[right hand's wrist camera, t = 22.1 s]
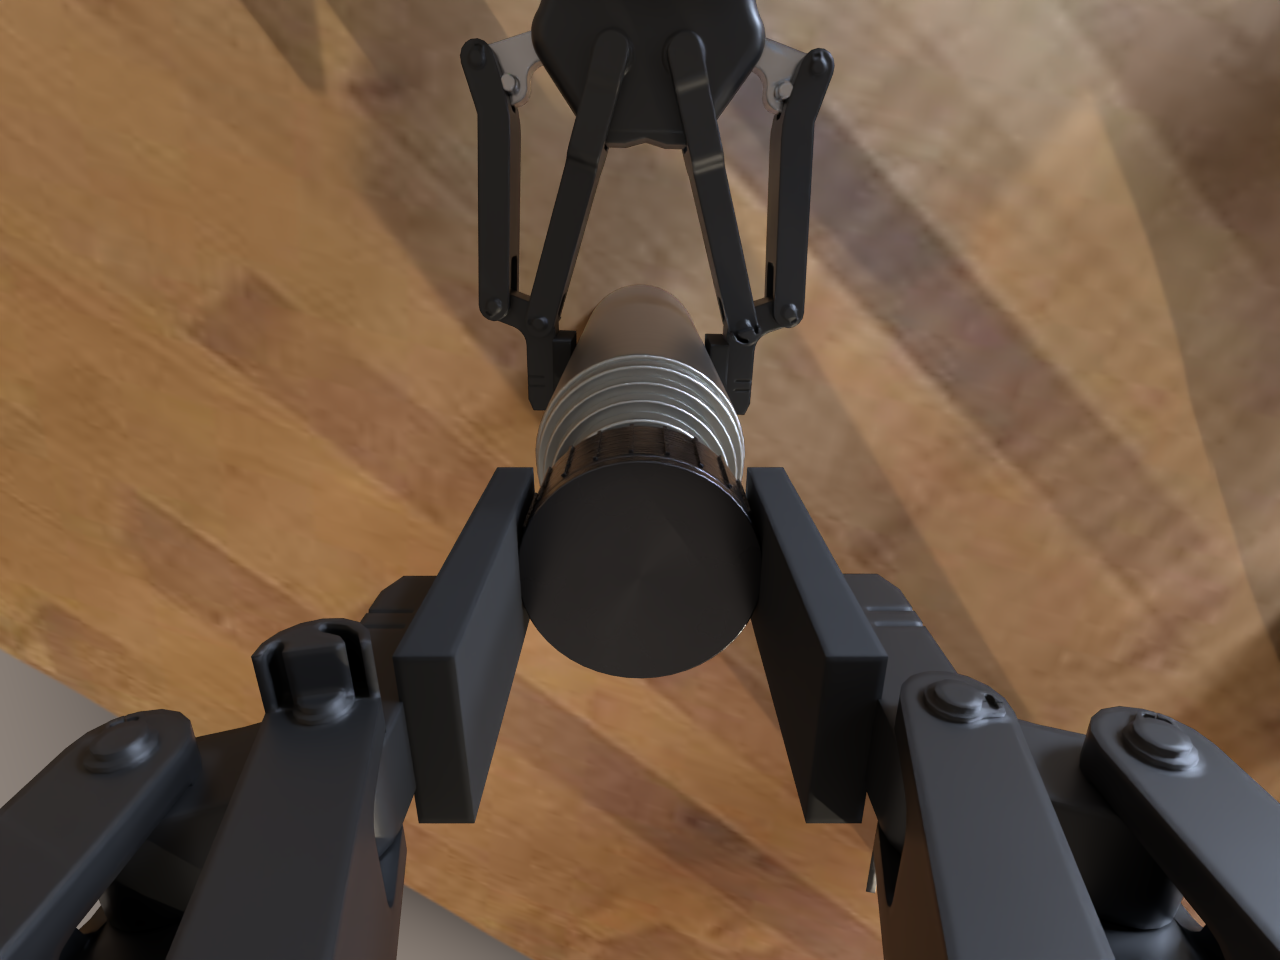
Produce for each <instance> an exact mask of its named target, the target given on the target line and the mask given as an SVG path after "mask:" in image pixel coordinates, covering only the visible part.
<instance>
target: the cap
mask: <svg viewBox="0 0 1280 960" xmlns="http://www.w3.org/2000/svg"><path fill="white" fill-rule="evenodd" d="M751 514H752V511H751V508H750V505H749V503H748V500H747V497H746V495H745V492H744V489H743V487H742V484H741V481H740V479H737V480H736V478H735V476H734V475H733V473H732V472H731V470H730V469H729V468H728V466H727V465H726V464H725V462H724V459H723V457H722V456H721V455H719V456H718V455H716V454H715V453H714V452H713V451H712V450H710V449H709V448H708V447H707V446H705V445H704V444H702V443H700V442H699V441H698V438H697V437H695V436H694V437H693V438H691V437H689V436H687V435H685V434H683V433H680V432H676V431H673V430H670V429H667V426H663V428H660V427H654V426H634V424H630V426H627V427H620V428H615V429H610V430H607V431H604V432H602V431H601V430H600V431H597V434H595V435H593V436H591V437H589V438H587V439H585V440H583V441H581V442H580V443H578V444H577V445H575V446H573V445H571V446H570V447H569V449H568V451H567V452H566V453H565V454H564V455H563V456H562V457H561V458H560V459H559V460H558V461H557V462H556V463H555V465H554V466H553V467H552V468H551V467H550V466H549V468H548V469H547V472H546V474H545V477H544V480H543V483H542V485H541V487H540V489H539V491H538V493H535V494H534V497H533V499H532V502H531V505H530V507H529V510H528V513H527V515H526V518H525V521H524V523H523V526H522V529H524V533H523V536H522V539H521V542H520V546H519V550H518V558H519V572H520V586H521V598H522V602H523V605H524V607H525V609H526V611H527V614H528V616H529V618H530V619H531V621H532V622H533V624H534V625H535V627H536V628H537V630H538V631H539V632H540V633H541V635H542V636H543V637H544V638H545V639H546V640H547V641H548V642H549V643H550V644H551V645H552V646H553V647H554V648H556V649H557V650H558V651H559V652H561V653H562V654H563V655H565V656H566V657H568V658H569V659H571V660H573V661H575V662H577V663H578V664H580V665H582V666H584V667H587V668H590V669H592V670H595V671H597V672H601V673H605V674H608V675H613V676H619V677H626V678H654V677H661V676H667V675H672V674H676V673H679V672H683V671H686V670H689V669H691V668H693V667H696V666H698V665H700V664H702V663H704V662H706V661H708V660H709V659H711V658H713V657H714V656H716V655H717V654H718V653H720V652H721V651H723V650H724V649H725V648H726V647H727V646H728V645H729V644H730V643H732V642H733V641H734V640H735V639H736V637H737V636H738V635H739V634H740V633H741V631H742V630H743V629H744V628H745V626H746V625H747V623H748V621H749V620H750V618H751V617H752V615H753V612H754V610H755V608H756V606H757V604H758V601H759V591H760V578H761V565H762V548H761V544H760V541H759V538H758V535H757V532H756V529H755V526H754V524H753V521H752V518H751Z"/></svg>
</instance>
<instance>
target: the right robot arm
mask: <svg viewBox="0 0 1280 960" xmlns="http://www.w3.org/2000/svg"><path fill="white" fill-rule="evenodd" d="M534 494H535V490H534V474H533V467H497V469H496V471H495V472H494V474H493V476H492V478H491V480H490V481H489V483H488V485H487V487H486V489H485V490H484V492H483V494H482V496H481V498H480V499H479V501H478V503H477V505H476V507H475V508H474V510H473V512H472V514H471V516H470V517H469V519H468V521H467V523H466V525H465V526H464V528H463V530H462V532H461V534H460V535H459V537H458V539H457V541H456V543H455V544H454V546H453V548H452V550H451V552H450V553H449V555H448V557H447V559H446V561H445V562H444V564H443V566H442V568H441V570H440V571H439V573H438V575H437V576H403V577H401V578H400V579H398V580H397V581H396V582H394V583H393V584H391V585H390V586H388V587H387V588H385V589H384V590H383V591H381V592H380V594H379V595H378V597H377V598H376V600H375V601H374V603H373V604H372V606H371V607H370V609H369V613H366V614H365V616H364V617H363V619H362V620H361V622H356V621H352V620H348V619H344V618H329V619H319V620H314V621H309V622H304V623H300V624H298V625H295V626H293V627H290V628H288V629H285V630H283V631H280V632H278V633H277V634H275V635H274V636H272V637H271V638H269V639H268V640H266V641H265V642H263V643H262V644H261V645H260V646H259V648H258V649H257V650H256V651H255V652H254V654H253V655H252V656H251V658H252V662H253V666H254V670H255V674H256V678H257V682H258V686H259V690H260V693H261V697H262V701H263V705H264V709H265V716H264V718H263V721H262V722H260V723H257V724H253V725H250V726H246V727H242V728H237V729H233V730H228V731H223V732H219V733H214V734H209V735H205V736H200V737H195V735H194V732H193V729H192V725H191V722H190V720H189V719H188V718H187V717H185V716H184V715H183V714H182V713H180V712H177V711H171V710H165V709H158V710H149V711H141V712H136V713H133V714H128V715H127V716H122V717H119V718H116V719H113V720H111V721H109V722H107V723H105V724H103V725H101V726H99V727H97V728H95V729H93V730H91V731H89V732H87V733H86V734H84V735H83V736H82V737H80V738H79V739H78V740H76V741H75V742H74V743H72V744H71V745H70V746H68V747H67V748H66V749H64V750H63V751H62V752H61V753H60V754H59V755H58V756H57V757H56V758H55V759H54V760H53V761H51V762H50V763H49V764H48V765H47V766H46V767H45V768H44V769H43V770H42V771H41V772H40V773H38V774H37V775H36V776H35V777H34V778H33V779H32V780H31V781H30V782H29V783H28V784H27V785H25V786H24V787H23V788H22V789H21V790H20V791H19V792H18V793H17V794H16V795H15V796H14V797H12V798H11V799H10V800H9V801H8V802H7V803H6V804H5V805H4V806H3V807H2V808H1V809H0V960H396V956H397V946H398V936H399V926H400V916H401V905H402V895H403V885H404V875H405V865H406V854H407V848H406V841H405V835H404V829H403V821H404V819H405V816H406V813H407V811H408V808H409V806H410V803H411V800H412V798H413V795H414V796H415V802H416V808H417V814H418V821H419V823H475V819H476V816H477V812H478V808H479V804H480V801H481V797H482V793H483V790H484V786H485V782H486V779H487V775H488V771H489V767H490V764H491V760H492V756H493V753H494V749H495V745H496V742H497V738H498V734H499V730H500V727H501V723H502V719H503V716H504V712H505V708H506V705H507V701H508V697H509V693H510V690H511V686H512V682H513V679H514V675H515V671H516V668H517V664H518V660H519V656H520V653H521V649H522V645H523V642H524V638H525V634H526V631H527V627H528V623H529V619H530V618H529V616H528V614H527V611H526V609H525V607H524V605H523V602H522V598H521V586H520V572H519V558H518V550H519V546H520V542H521V539H522V536H523V533H524V529H522V526H523V523H524V521H525V518H526V515H527V513H528V510H529V507H530V505H531V502H532V499H533V497H534ZM746 497H747V500H748V503H749V505H750V508H751V511H752V514H751V518H752V521H753V524H754V526H755V529H756V532H757V535H758V538H759V541H760V544H761V548H762V565H761V578H760V591H759V601H758V604H757V606H756V608H755V610H754V612H753V615H752V617H751V622H752V625H753V629H754V633H755V636H756V640H757V644H758V648H759V651H760V655H761V659H762V662H763V666H764V670H765V673H766V677H767V681H768V684H769V688H770V692H771V696H772V699H773V703H774V707H775V710H776V714H777V718H778V721H779V725H780V729H781V733H782V736H783V740H784V744H785V747H786V751H787V755H788V758H789V762H790V766H791V770H792V773H793V777H794V781H795V784H796V788H797V792H798V795H799V799H800V803H801V807H802V810H803V814H804V818H805V821H806V823H862V817H863V811H864V805H865V799H866V792H867V793H868V796H869V799H870V801H871V804H872V806H873V809H874V811H875V814H876V817H877V819H878V823H877V829H876V835H875V841H874V846H873V852H872V858H871V864H870V869H869V875H868V882H867V888H866V892H871V893H875V889H876V884H877V893H878V904H879V914H880V924H881V934H882V944H883V955H884V960H1280V803H1278V802H1277V801H1276V800H1275V799H1274V798H1273V797H1272V796H1271V795H1270V794H1269V793H1268V792H1266V791H1265V790H1264V789H1263V788H1262V787H1261V786H1260V785H1259V784H1258V783H1257V782H1256V781H1254V780H1253V779H1252V778H1251V777H1250V776H1249V775H1248V774H1247V773H1246V772H1245V771H1244V770H1242V769H1241V768H1240V767H1239V766H1238V765H1237V764H1236V763H1235V762H1234V761H1233V760H1232V759H1230V758H1229V757H1228V756H1227V755H1226V754H1225V753H1224V752H1223V751H1222V750H1221V749H1219V748H1218V747H1217V746H1216V745H1215V744H1214V743H1212V742H1211V741H1209V740H1208V739H1207V738H1205V737H1204V736H1203V735H1201V734H1200V733H1199V732H1197V731H1196V730H1194V729H1192V728H1190V727H1188V726H1186V725H1184V724H1182V723H1180V722H1178V721H1176V720H1174V719H1173V718H1171V717H1168V716H1165V715H1162V714H1160V713H1155V712H1153V711H1148V710H1145V709H1139V708H1130V707H1122V706H1118V707H1112V708H1106V709H1101V710H1100V711H1099V712H1097V713H1096V714H1095V715H1094V716H1093V717H1091V720H1090V724H1089V727H1088V730H1087V734H1086V735H1084V734H1080V733H1075V732H1070V731H1066V730H1061V729H1056V728H1052V727H1047V726H1042V725H1038V724H1034V723H1030V722H1027V721H1023V720H1020V719H1017V717H1016V714H1015V712H1014V711H1013V709H1012V708H1011V706H1010V705H1009V704H1008V702H1007V701H1006V699H1005V698H1004V697H1002V696H1001V695H1000V694H998V693H997V692H996V691H995V690H993V689H992V688H991V687H989V686H988V685H986V684H983V683H981V682H979V681H977V680H975V679H972V678H970V677H968V676H964V675H960V674H957V672H956V671H955V669H954V668H953V666H952V665H951V663H950V662H949V660H948V659H947V658H946V656H945V655H944V653H943V652H942V650H941V649H940V647H939V646H938V644H937V643H936V642H935V640H934V639H933V637H932V636H931V634H930V633H929V631H928V630H927V628H926V627H925V626H923V625H922V621H921V620H920V618H919V617H918V615H917V614H916V612H915V611H912V607H911V605H910V604H909V602H908V601H907V599H906V598H905V596H904V595H903V593H902V592H901V590H900V589H898V588H897V587H896V586H894V585H893V584H891V583H890V582H888V581H887V580H885V579H884V578H882V577H881V576H880V575H878V574H842V572H841V571H840V569H839V567H838V565H837V563H836V562H835V560H834V558H833V556H832V554H831V553H830V551H829V549H828V547H827V545H826V544H825V542H824V540H823V538H822V536H821V535H820V533H819V531H818V529H817V527H816V526H815V524H814V522H813V520H812V518H811V517H810V515H809V513H808V511H807V509H806V508H805V506H804V504H803V502H802V500H801V499H800V497H799V495H798V493H797V491H796V490H795V488H794V486H793V484H792V483H791V481H790V479H789V477H788V475H787V474H786V472H785V470H784V468H783V467H747V481H746ZM1183 896H1184V898H1185V899H1186V900H1187V901H1188V903H1189V904H1190V905H1191V906H1192V908H1193V909H1194V910H1195V911H1196V913H1197V914H1198V915H1199V916H1200V917H1201V919H1202V920H1203V921H1204V922H1205V924H1206V925H1205V926H1204V927H1201V926H1200V925H1199V924H1198V923H1197V922H1196V921H1195V920H1194V919H1193V918H1192V917H1191V916H1190V914H1189V913H1188V912H1187V910H1186V909H1185V908H1184V907H1183V905H1182V904H1181V900H1182V898H1183ZM98 899H99V901H100V904H101V906H100V907H99V909H98V910H97V911H96V913H95V914H94V915H93V916H92V918H91V919H90V920H89V921H88V922H87V923H86V924H84V925H83V926H82V927H81V928H80V929H79V930H78V929H77V928H76V927H77V926H78V924H79V923H80V922H81V921H82V919H83V918H84V917H85V916H86V914H87V913H88V912H89V911H90V909H91V908H92V907H93V906H94V904H95V903H96V902H97V901H98Z"/></svg>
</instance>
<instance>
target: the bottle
mask: <svg viewBox="0 0 1280 960" xmlns="http://www.w3.org/2000/svg"><path fill="white" fill-rule="evenodd" d="M630 424H634V426H654V427H660V428H663V426H667V429H670V430H673V431H676V432H680V433H683V434H685V435H687V436H689V437H691V438H693V437H694V436H695V437H697V438H698V441H699V442H700V443H702V444H704V445H705V446H707V447H708V448H709V449H710V450H712V451H713V452H714V453H715V454H716V455H718V456H719V455H721V456H722V457H723V459H724V462H725V464H726V465H727V466H728V468H729V469H730V470H731V472H732V473H733V475H734V476H735V478H736V480H737V479H740V481H742V476H743V468H744V458H745V447H744V437H743V432H742V428H741V424H740V422H739V419H738V416H737V414H736V412H735V409H734V407H733V405H732V403H731V401H730V399H729V397H728V395H727V393H726V391H725V388H724V386H723V384H722V382H721V380H720V378H719V376H718V374H717V372H716V369H715V367H714V365H713V363H712V361H711V359H710V357H709V355H708V353H707V351H706V348H705V346H704V344H703V342H702V340H701V338H700V336H699V334H698V332H697V329H696V327H695V325H694V323H693V321H692V319H691V317H690V315H689V313H688V311H687V310H686V308H685V307H684V306H683V304H682V303H681V302H680V301H679V300H678V299H677V298H676V297H674V296H673V295H672V294H670V293H668V292H667V291H665V290H663V289H660V288H658V287H654V286H650V285H631V286H626V287H623V288H620V289H618V290H615V291H614V292H612V293H610V294H609V295H607V296H606V297H605V298H604V299H603V300H602V301H601V302H600V303H599V304H598V305H597V306H596V308H595V309H594V310H593V312H592V314H591V316H590V318H589V320H588V322H587V324H586V326H585V328H584V330H583V333H582V335H581V337H580V339H579V341H578V343H577V345H576V347H575V349H574V352H573V354H572V356H571V358H570V360H569V362H568V364H567V366H566V368H565V370H564V373H563V375H562V377H561V379H560V381H559V383H558V385H557V387H556V389H555V391H554V394H553V396H552V398H551V400H550V402H549V404H548V406H547V408H546V410H545V412H544V415H543V418H542V420H541V423H540V426H539V430H538V434H537V440H536V465H537V473H538V478H539V483H540V487H541V485H542V483H543V480H544V477H545V474H546V472H547V469H548V468H549V466H550V467H551V468H552V467H553V466H554V465H555V463H556V462H557V461H558V460H559V459H560V458H561V457H562V456H563V455H564V454H565V453H566V452H567V451H568V449H569V447H570V446H571V445H573V446H575V445H577V444H578V443H580V442H581V441H583V440H585V439H587V438H589V437H591V436H593V435H595V434H597V431H600V430H601V431H602V432H604V431H607V430H610V429H615V428H620V427H627V426H630Z"/></svg>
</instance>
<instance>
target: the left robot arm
mask: <svg viewBox="0 0 1280 960" xmlns="http://www.w3.org/2000/svg"><path fill="white" fill-rule="evenodd" d="M460 58H461V64H462V67H463V70H464V73H465V76H466V79H467V83H468V86H469V89H470V92H471V95H472V98H473V101H474V104H475V107H476V111H477V114H478V256H479V308H480V311H481V313H482V315H483V316H484V317H485V318H487V319H488V320H492V321H500V322H503V323H505V324H508V325H511V326H513V327H515V328H517V329H518V330H520V331H521V332H522V334H523V335H524V337H525V339H526V344H527V367H528V394H529V401H530V403H531V405H532V407H533V410H546V408H547V406H548V404H549V402H550V400H551V398H552V396H553V394H554V391H555V389H556V387H557V385H558V383H559V381H560V379H561V377H562V375H563V373H564V370H565V368H566V366H567V364H568V362H569V360H570V358H571V356H572V354H573V352H574V349H575V347H576V345H577V341H576V331H569V330H559V321H560V319H561V317H560V316H561V312H562V309H563V305H564V302H565V298H566V295H567V291H568V288H569V284H570V280H571V277H572V273H573V270H574V266H575V263H576V259H577V256H578V252H579V249H580V245H581V242H582V238H583V234H584V231H585V227H586V224H587V220H588V217H589V213H590V210H591V206H592V203H593V199H594V196H595V192H596V188H597V185H598V181H599V178H600V175H601V172H602V169H603V166H604V163H605V160H606V156H607V153H608V149H609V147H614V148H627V147H631V146H634V145H638V144H642V143H649V144H652V145H655V146H658V147H661V148H664V149H682V153H683V157H684V161H685V165H686V169H687V172H688V175H689V179H690V183H691V187H692V192H693V196H694V200H695V205H696V209H697V213H698V218H699V222H700V226H701V231H702V235H703V239H704V244H705V248H706V252H707V257H708V261H709V265H710V270H711V274H712V278H713V283H714V287H715V291H716V296H717V300H718V304H719V309H720V313H721V317H722V322H723V325H724V326H723V335H722V334H705V348H706V351H707V353H708V355H709V357H710V359H711V361H712V363H713V365H714V367H715V369H716V372H717V374H718V376H719V378H720V380H721V382H722V384H723V386H724V388H725V391H726V393H727V395H728V397H729V399H730V401H731V403H732V405H733V407H734V409H735V412H736V414H737V415H744V414H745V412H746V411H747V409H748V407H749V405H750V397H751V385H752V373H753V362H754V350H755V346H756V343H757V341H758V340H759V339H760V338H761V337H762V336H763V335H764V334H767V333H769V332H772V331H775V330H778V329H781V328H784V327H785V328H791V327H794V326H796V325H797V324H799V323H800V321H801V320H802V318H803V314H804V303H805V285H806V266H807V248H808V230H809V212H810V194H811V176H812V158H813V140H814V123H815V120H816V117H817V115H818V112H819V109H820V107H821V104H822V101H823V99H824V96H825V93H826V91H827V88H828V86H829V83H830V80H831V78H832V75H833V71H834V59H833V57H832V55H831V54H830V52H828V51H827V50H825V49H821V48H817V49H813V50H811V51H810V52H809V53H808V54H807V53H804V52H801V51H799V50H796V49H793V48H791V47H788V46H786V45H783V44H781V43H778V42H776V41H773V40H770V39H768V38H765V29H764V25H763V22H762V19H761V17H760V15H759V12H758V9H757V5H756V0H541V2H540V5H539V8H538V10H537V12H536V14H535V16H534V19H533V22H532V27H531V31H529V32H526V33H522V34H519V35H516V36H513V37H510V38H507V39H504V40H501V41H498V42H495V43H492V44H487V43H486V42H485V41H483V40H481V39H478V38H475V39H470V40H468V41H467V42H465V44H464V45H463V47H462V48H461V53H460ZM541 66H544V68H545V69H546V71H547V72H548V74H549V75H550V77H551V78H552V80H553V82H554V83H555V85H556V86H557V88H558V89H559V91H560V92H561V94H562V96H563V97H564V99H565V100H566V102H567V103H568V105H569V106H570V108H571V110H572V111H573V113H574V114H575V116H576V119H575V123H574V127H573V131H572V135H571V138H570V142H569V146H568V151H567V159H566V163H565V167H564V171H563V175H562V179H561V182H560V186H559V190H558V194H557V198H556V201H555V205H554V209H553V213H552V217H551V220H550V224H549V228H548V232H547V236H546V239H545V243H544V247H543V251H542V254H541V258H540V262H539V266H538V270H537V273H536V277H535V281H534V285H533V289H532V292H531V296H529V295H526V294H524V293H521V292H519V233H520V162H521V129H520V119H519V112H518V107H521V106H523V105H525V104H526V103H527V102H528V100H529V98H530V94H531V83H530V81H531V77H532V75H533V73H534V71H535V70H536V69H537V68H539V67H541ZM751 72H754V73H755V74H757V75H758V76H759V77H760V79H761V81H762V84H763V95H762V101H763V105H764V107H765V109H766V110H767V111H768V112H770V113H772V114H774V119H773V124H772V129H771V136H770V153H769V182H768V211H767V240H766V270H765V298H762V299H759V300H756V301H753V297H752V293H751V288H750V283H749V278H748V274H747V269H746V264H745V260H744V255H743V250H742V245H741V241H740V236H739V231H738V227H737V222H736V217H735V212H734V208H733V203H732V198H731V194H730V189H729V184H728V179H727V175H726V170H725V164H724V153H723V148H722V143H721V138H720V133H719V129H718V124H717V119H718V118H719V116H720V115H721V114H722V112H723V111H724V109H725V108H726V107H727V105H728V104H729V102H730V101H731V99H732V98H733V97H734V95H735V94H736V92H737V91H738V90H739V88H740V87H741V85H742V84H743V83H744V81H745V80H746V78H747V77H748V76H749V74H750V73H751Z"/></svg>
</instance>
